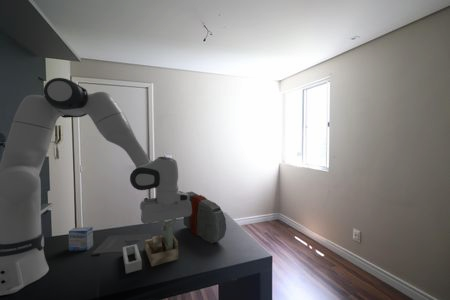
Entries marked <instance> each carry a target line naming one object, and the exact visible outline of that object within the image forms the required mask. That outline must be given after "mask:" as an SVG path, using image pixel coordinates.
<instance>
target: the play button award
mask: <svg viewBox="0 0 450 300" xmlns="http://www.w3.org/2000/svg"><path fill="white" fill-rule="evenodd" d="M152 234H153V233H144V234H143V233H142V234H141V233H140V234H121V235H120V234H119V235H118V234H117V235H115V234H114V235H109V236H108V237H107V238H106V239H105V240H103V242H102V243H100V245H98V246H97V248H96V249H95V250H93V252H92V253H91V254H92V256H100V255H101V254H107V253H123V247H126V246H129V245H128V244H127V241H129V242H130V241H137V242H135V243H133V244H132V245H135V244H137V247H138V250H139V252H143V251H144V249H145V240H149V239H151V237H152Z"/></svg>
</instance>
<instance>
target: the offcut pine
mask: <svg viewBox="0 0 450 300" xmlns="http://www.w3.org/2000/svg"><path fill="white" fill-rule="evenodd" d="M160 236H161V235H154V236H151V237H152V238H151V239H152V242H153V247H154V248H157V247H162V240H161V237H160Z"/></svg>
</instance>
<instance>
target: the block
mask: <svg viewBox="0 0 450 300" xmlns="http://www.w3.org/2000/svg"><path fill="white" fill-rule="evenodd" d="M162 225H163V226H164V225H165V226H166V231H162V236H163V238H164V240H165V241H166V243H167V245H168V246H169V250H172V249H173V235H174V234H173V233H174V225H172V224H171V221H170V220H164V221H163V223H162Z"/></svg>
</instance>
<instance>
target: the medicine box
mask: <svg viewBox="0 0 450 300" xmlns="http://www.w3.org/2000/svg"><path fill="white" fill-rule="evenodd" d="M93 229H94V227H92V226H91V227H90V226H89V227H86V226H85V227H83V226H82V227H73V228H71V229H70V230H69V231H68V251H69V252H73V251H74V252H77V251H89V250H90V249H91V248H92V247H93V246H94V238H93V237H94V236H93V235H94V234H93V233H94V230H93Z"/></svg>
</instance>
